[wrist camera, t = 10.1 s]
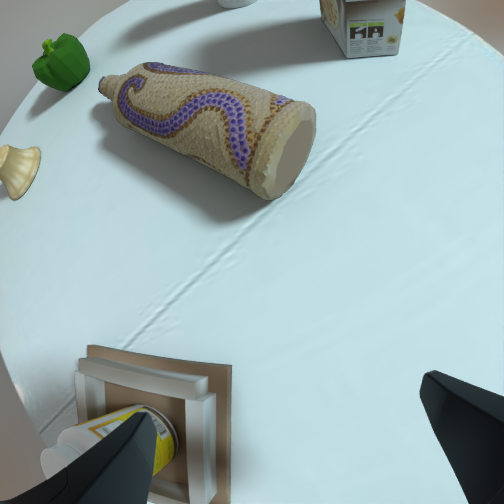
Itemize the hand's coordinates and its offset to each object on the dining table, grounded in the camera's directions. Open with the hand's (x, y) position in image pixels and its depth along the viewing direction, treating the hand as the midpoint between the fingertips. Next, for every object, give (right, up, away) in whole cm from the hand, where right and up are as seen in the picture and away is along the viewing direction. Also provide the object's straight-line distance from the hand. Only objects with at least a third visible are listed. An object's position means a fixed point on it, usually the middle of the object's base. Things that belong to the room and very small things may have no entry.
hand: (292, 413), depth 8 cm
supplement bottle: (-9, -10, +11) cm, 17 cm away
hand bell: (-34, +16, +24) cm, 44 cm away
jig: (-9, -10, +12) cm, 18 cm away
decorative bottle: (-6, +17, +18) cm, 26 cm away
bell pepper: (-28, +32, +26) cm, 50 cm away
